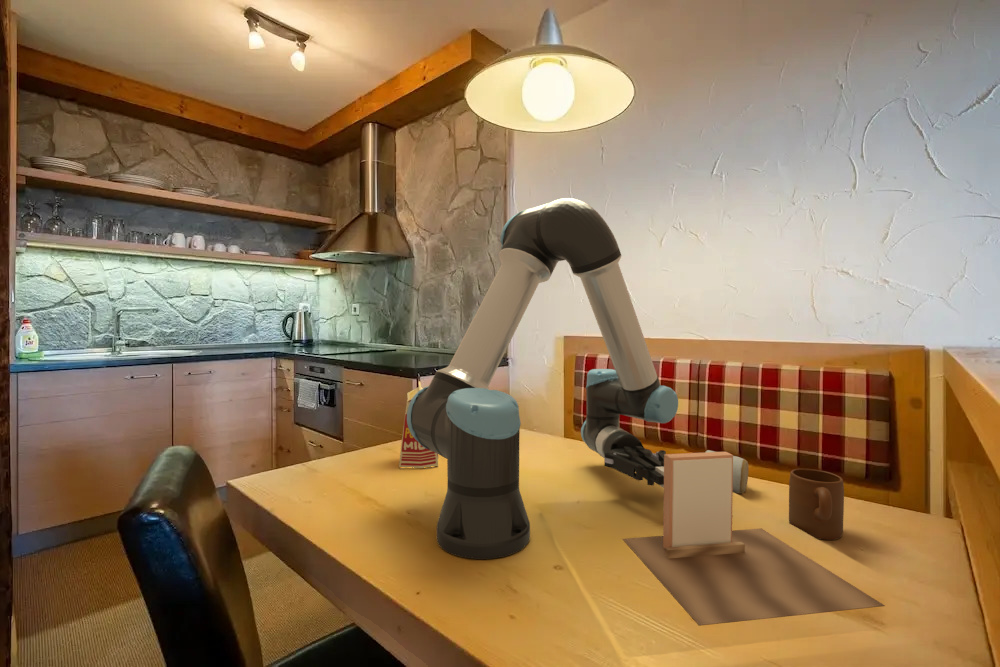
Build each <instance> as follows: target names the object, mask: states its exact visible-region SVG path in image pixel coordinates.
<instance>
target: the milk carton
mask: <svg viewBox="0 0 1000 667" xmlns="http://www.w3.org/2000/svg"><path fill="white" fill-rule="evenodd" d="M423 388H424V387H422V383H421V381H419V380H418V387H416V388H414V389H412V390H410V391H409V392H407V394H406V396H407V397H406V406H405V413H404V420H403V427H402V437H401V443H400V444H401V445H400V451H399V452H400V455H399V464H398V468H399V467H412V468H413V467H414V468H424V467H431V466H438V467H439V454H437V453H435V452H433V451H430V450H429V449H426V448H424V447H423V446H422V445H421V444H420V443H419V442H418V441H417V440H416V439H415V438H414V437H413V436H412V434H411V433H410V430H409V428H408V424H407V410H408V406H409V404H410V401H411V400H412V398H413V397H414V395H415V394H416V393H417V392H418V391H420V390H421V389H423Z"/></svg>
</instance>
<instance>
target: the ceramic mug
mask: <svg viewBox="0 0 1000 667" xmlns="http://www.w3.org/2000/svg"><path fill="white" fill-rule="evenodd" d="M706 452H715V451H714V450H710V449H707V450H706V451H705V452H704V453H706ZM748 479H749V463H748V460H746V459H745V458H742V457H739V456H736V455H733V494H734V493H735V494H744V493H745V492H746V490H747V487H748Z"/></svg>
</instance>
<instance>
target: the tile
mask: <svg viewBox="0 0 1000 667" xmlns="http://www.w3.org/2000/svg"><path fill="white" fill-rule="evenodd" d="M705 452H706V451H705ZM705 452H690V453H687V452H686V453H669V454H668V453H666V454H664V488H663V521H662V522H663V524H662V525H663V529H662V530H663V531H662V532H663V534H662V536H663V547H664V548H665V549H666V548H668V547H680V546H693V545H706V544H719V543H732V531H733V495H734V492H733V456H734V455H733V454H731V453H730V452H727V451H714V452H706V453H705Z"/></svg>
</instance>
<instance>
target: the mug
mask: <svg viewBox="0 0 1000 667" xmlns="http://www.w3.org/2000/svg"><path fill="white" fill-rule="evenodd" d="M843 479H844V478H842V477H841V476H839V475H837V474H834V473H832V472H829V471H825V470H821V469H820V470H819V469H815V468H814V469H812V468H794V469H792V470H790V473H789V481H788V482H789V483H788V485H789V486H788V523H789V525H792V526H793V527H794V528H796V529H798V530H800V531H802V532H804V533H805V534H807V535H809V536H811V537H812V538H815V539H817V540H825V541H826V540H828V541H829V540H830V541H832V540H837V539H840V538H841V537H842V536H843V533H844V512H845V511H844V510H845V507H844V506H845V505H844V504H845V503H844V502H845V489H844V480H843Z"/></svg>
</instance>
